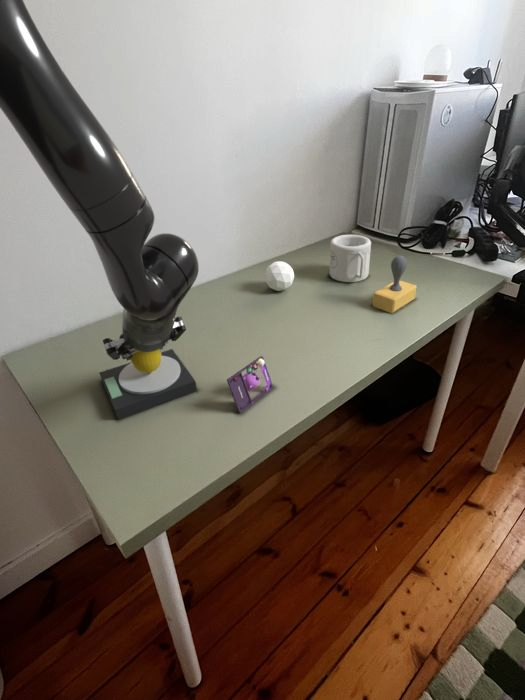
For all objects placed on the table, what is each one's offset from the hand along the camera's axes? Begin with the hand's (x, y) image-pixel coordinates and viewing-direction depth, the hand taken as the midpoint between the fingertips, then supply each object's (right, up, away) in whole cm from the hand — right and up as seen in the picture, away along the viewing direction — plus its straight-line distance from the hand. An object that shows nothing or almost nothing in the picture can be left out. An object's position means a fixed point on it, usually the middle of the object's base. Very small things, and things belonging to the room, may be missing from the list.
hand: (142, 349), depth 81 cm
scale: (0, -7, +2) cm, 8 cm away
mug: (+47, +20, +39) cm, 64 cm away
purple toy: (+20, -9, -1) cm, 22 cm away
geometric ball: (+27, +16, +35) cm, 47 cm away
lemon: (+1, -5, +1) cm, 5 cm away
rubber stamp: (+55, +12, +25) cm, 62 cm away
